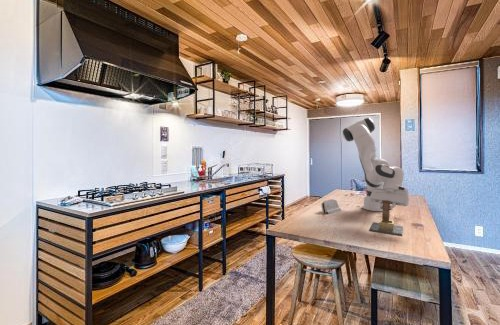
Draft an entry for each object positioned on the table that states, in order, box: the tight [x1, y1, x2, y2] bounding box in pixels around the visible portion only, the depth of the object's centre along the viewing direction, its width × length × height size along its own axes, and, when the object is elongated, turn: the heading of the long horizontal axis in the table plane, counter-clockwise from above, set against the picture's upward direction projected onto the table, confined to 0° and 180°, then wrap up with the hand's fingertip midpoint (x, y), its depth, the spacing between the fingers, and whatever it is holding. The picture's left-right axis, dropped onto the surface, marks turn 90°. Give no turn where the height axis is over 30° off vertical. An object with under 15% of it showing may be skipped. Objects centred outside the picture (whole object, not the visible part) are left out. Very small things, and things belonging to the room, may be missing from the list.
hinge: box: [320, 198, 342, 215], centre depth 192 cm, size 17×5×10 cm, turn 128°
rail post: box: [381, 200, 391, 221], centre depth 149 cm, size 4×4×11 cm
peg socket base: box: [369, 219, 404, 237], centre depth 150 cm, size 16×16×4 cm
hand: (385, 208), depth 149 cm, fingers closed on rail post, 4 cm apart
